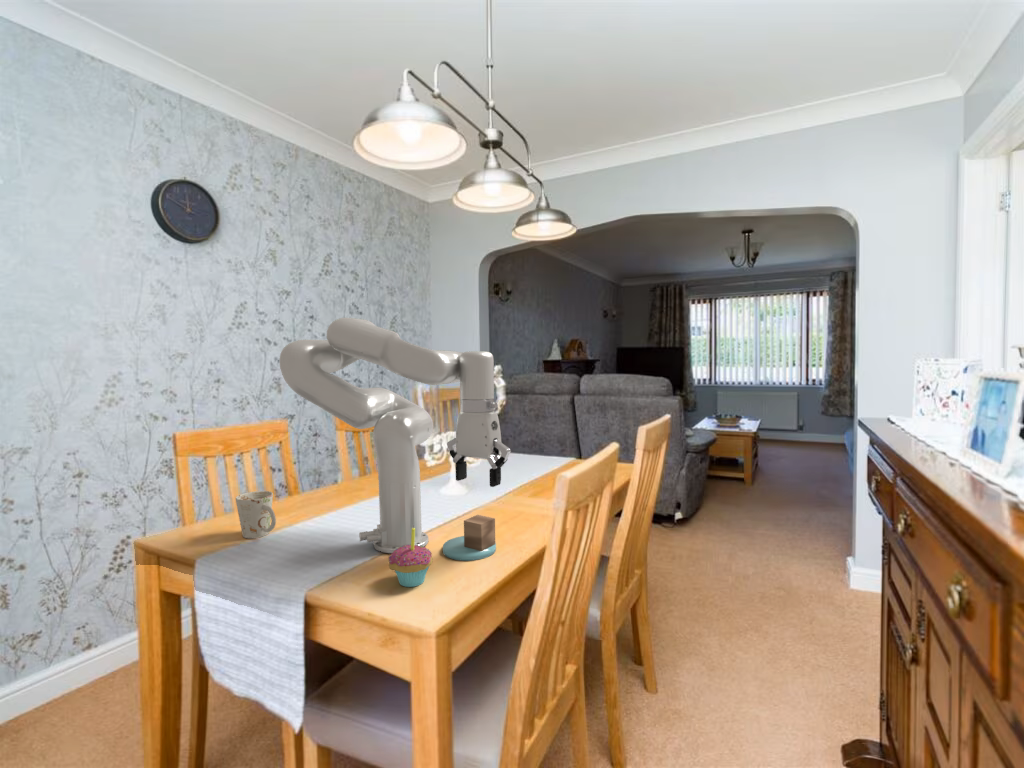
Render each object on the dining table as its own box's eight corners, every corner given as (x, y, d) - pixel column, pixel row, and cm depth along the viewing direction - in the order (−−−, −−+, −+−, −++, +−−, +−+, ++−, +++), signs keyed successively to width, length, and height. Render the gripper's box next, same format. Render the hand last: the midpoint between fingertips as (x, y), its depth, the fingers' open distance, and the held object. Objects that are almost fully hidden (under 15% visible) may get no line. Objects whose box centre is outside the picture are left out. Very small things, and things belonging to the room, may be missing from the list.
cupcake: (440, 583, 100) (439, 523, 99) (399, 596, 95) (397, 532, 94) (421, 569, 107) (419, 512, 106) (382, 580, 102) (380, 520, 101)
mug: (261, 526, 135) (259, 489, 134) (292, 534, 128) (290, 495, 128) (230, 536, 128) (228, 497, 127) (261, 545, 121) (259, 504, 121)
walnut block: (481, 551, 113) (481, 524, 112) (464, 546, 115) (463, 520, 115) (495, 544, 117) (494, 518, 116) (478, 539, 119) (477, 514, 119)
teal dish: (453, 564, 109) (452, 559, 108) (436, 545, 119) (436, 540, 119) (504, 554, 114) (504, 549, 114) (484, 537, 125) (483, 532, 124)
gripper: (518, 407, 112) (519, 484, 113) (458, 403, 122) (459, 474, 123) (498, 410, 106) (499, 492, 107) (436, 406, 116) (437, 480, 117)
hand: (477, 482), depth 115 cm, fingers open, 9 cm apart
